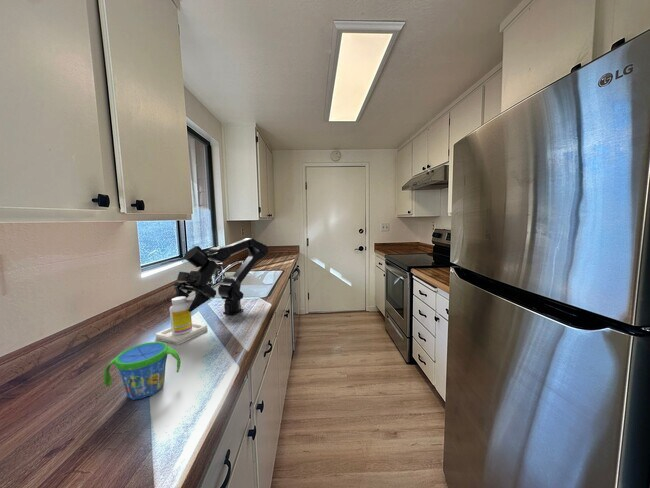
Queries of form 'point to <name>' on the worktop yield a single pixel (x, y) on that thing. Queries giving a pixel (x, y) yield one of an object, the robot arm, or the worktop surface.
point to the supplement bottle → (180, 316)
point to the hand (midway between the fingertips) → (181, 309)
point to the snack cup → (142, 368)
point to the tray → (178, 339)
